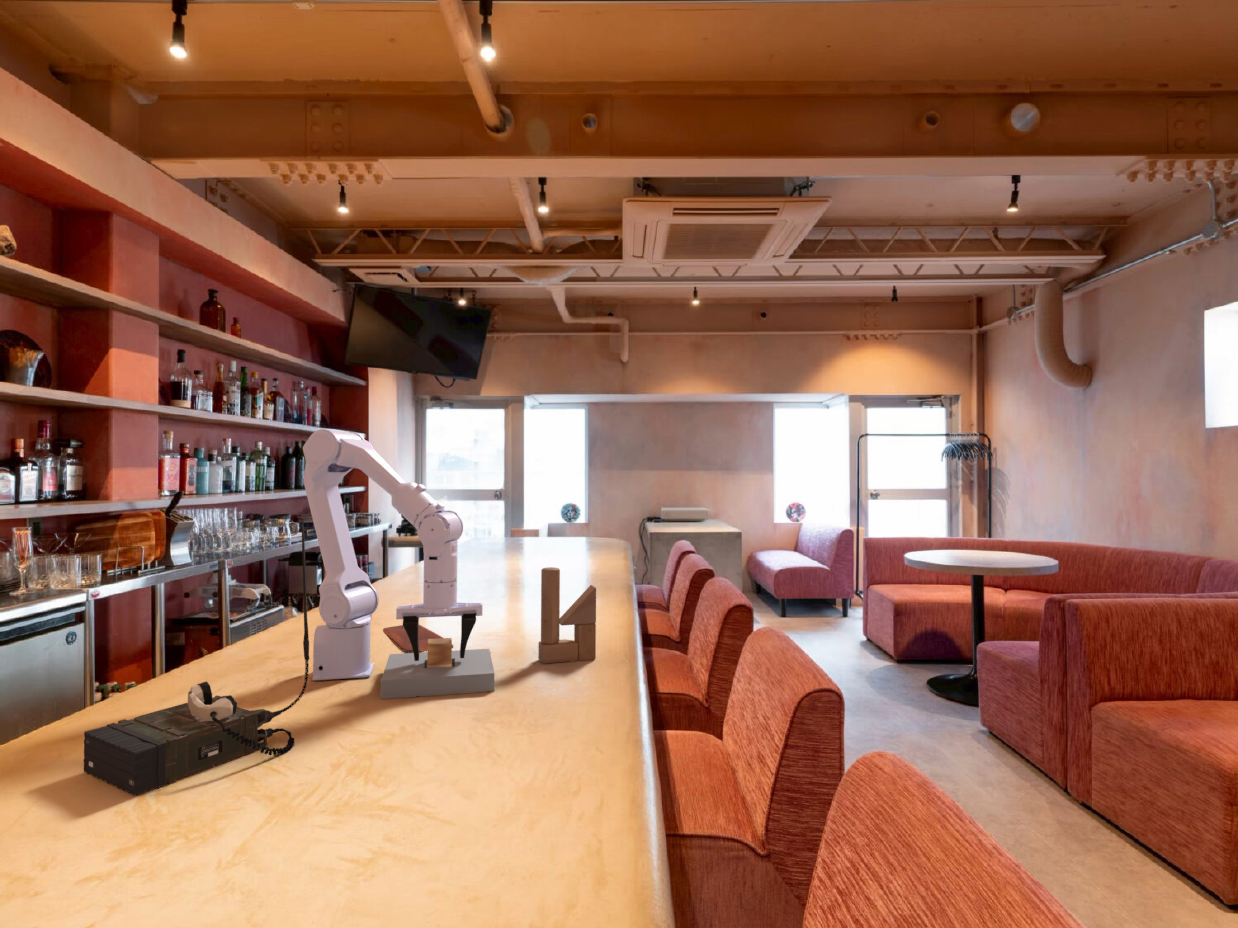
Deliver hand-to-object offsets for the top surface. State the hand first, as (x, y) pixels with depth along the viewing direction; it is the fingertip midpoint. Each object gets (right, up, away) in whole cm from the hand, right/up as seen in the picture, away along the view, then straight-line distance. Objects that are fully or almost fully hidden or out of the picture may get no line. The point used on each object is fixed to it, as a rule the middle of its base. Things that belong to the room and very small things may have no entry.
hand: (439, 657), depth 118 cm
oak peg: (0, -4, 0) cm, 4 cm away
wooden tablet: (-13, -5, +30) cm, 34 cm away
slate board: (0, -4, 0) cm, 4 cm away
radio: (-21, -4, -31) cm, 37 cm away
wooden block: (+21, -4, +14) cm, 26 cm away
